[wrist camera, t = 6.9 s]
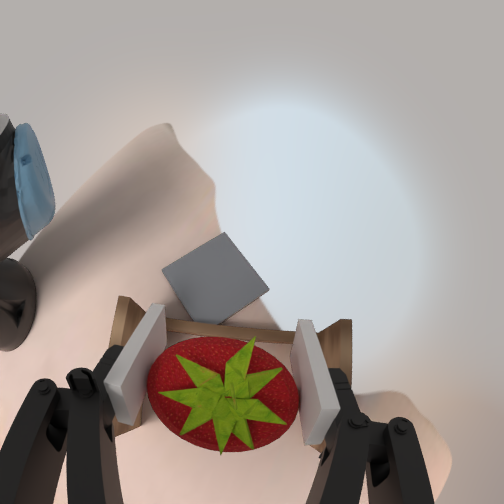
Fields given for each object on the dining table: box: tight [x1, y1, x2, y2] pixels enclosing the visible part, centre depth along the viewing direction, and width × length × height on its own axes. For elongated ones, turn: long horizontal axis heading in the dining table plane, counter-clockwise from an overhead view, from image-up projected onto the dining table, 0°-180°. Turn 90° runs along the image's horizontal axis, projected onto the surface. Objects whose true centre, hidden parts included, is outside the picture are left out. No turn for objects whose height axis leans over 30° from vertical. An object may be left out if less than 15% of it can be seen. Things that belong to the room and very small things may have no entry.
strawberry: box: [147, 336, 299, 455], centre depth 12 cm, size 6×8×10 cm
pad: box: [162, 232, 269, 325], centre depth 34 cm, size 10×10×1 cm
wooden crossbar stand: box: [109, 296, 352, 453], centre depth 25 cm, size 14×22×9 cm, turn 86°
